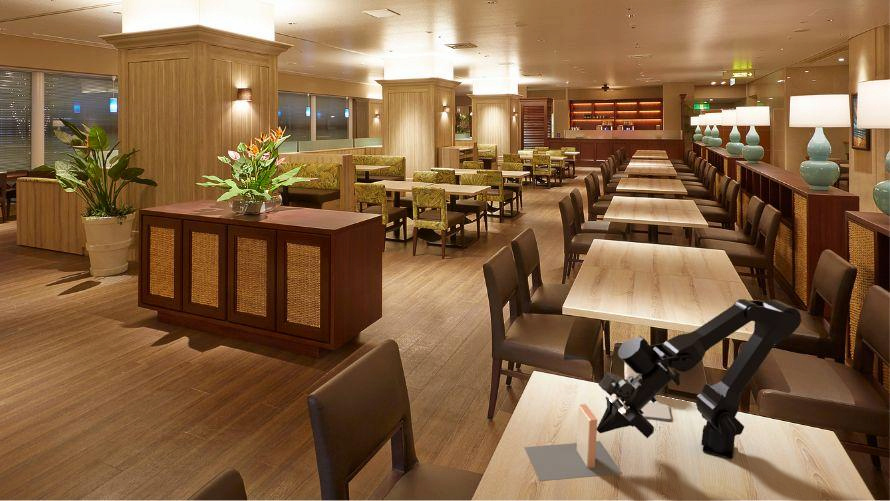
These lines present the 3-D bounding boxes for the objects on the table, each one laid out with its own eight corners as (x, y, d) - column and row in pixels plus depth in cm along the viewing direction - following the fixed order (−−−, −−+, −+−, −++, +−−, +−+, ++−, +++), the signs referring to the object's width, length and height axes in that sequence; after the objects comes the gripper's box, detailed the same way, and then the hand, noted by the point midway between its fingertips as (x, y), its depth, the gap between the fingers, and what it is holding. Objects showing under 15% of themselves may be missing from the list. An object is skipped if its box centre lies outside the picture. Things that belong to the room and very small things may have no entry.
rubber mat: (599, 442, 138) (599, 441, 138) (622, 475, 125) (622, 473, 125) (524, 449, 135) (524, 447, 135) (539, 482, 123) (539, 480, 123)
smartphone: (612, 398, 158) (668, 404, 154) (611, 401, 159) (668, 407, 155) (612, 413, 151) (671, 419, 147) (612, 416, 151) (671, 423, 147)
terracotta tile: (583, 449, 134) (585, 404, 131) (594, 467, 127) (597, 419, 124) (576, 450, 134) (578, 404, 131) (587, 468, 127) (589, 420, 124)
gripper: (608, 346, 135) (562, 391, 136) (644, 381, 117) (590, 432, 118) (637, 374, 138) (591, 418, 139) (676, 413, 120) (624, 463, 121)
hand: (598, 431), depth 129 cm, fingers closed
